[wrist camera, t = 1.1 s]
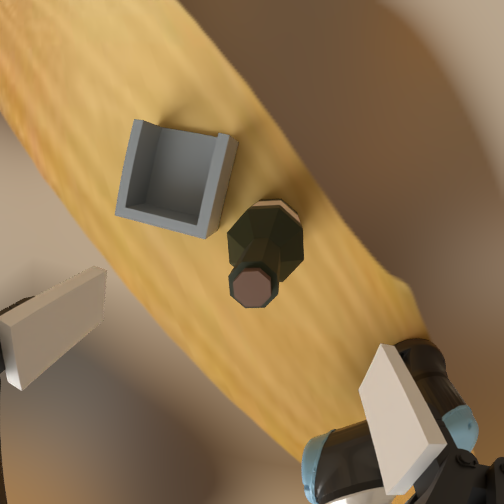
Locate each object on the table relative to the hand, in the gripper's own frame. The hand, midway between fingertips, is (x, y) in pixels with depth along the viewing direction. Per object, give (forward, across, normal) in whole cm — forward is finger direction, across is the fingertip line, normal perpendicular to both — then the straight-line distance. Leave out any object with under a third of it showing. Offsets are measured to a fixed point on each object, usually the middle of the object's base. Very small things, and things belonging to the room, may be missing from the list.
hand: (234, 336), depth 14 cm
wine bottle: (+36, 0, 0) cm, 37 cm away
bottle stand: (+36, +15, -4) cm, 39 cm away
